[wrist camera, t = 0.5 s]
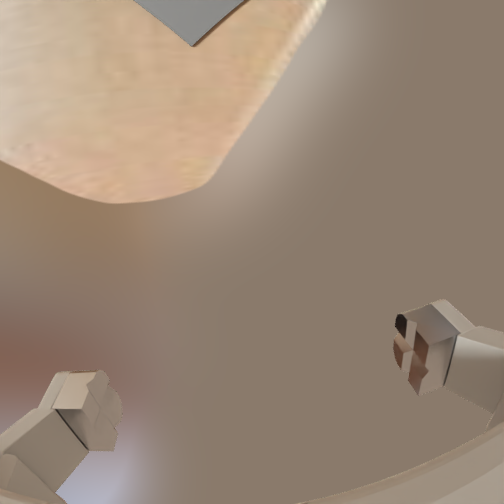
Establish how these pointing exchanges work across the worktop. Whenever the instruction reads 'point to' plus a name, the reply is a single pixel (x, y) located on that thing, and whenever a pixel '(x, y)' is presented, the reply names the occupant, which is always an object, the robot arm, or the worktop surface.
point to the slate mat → (189, 15)
